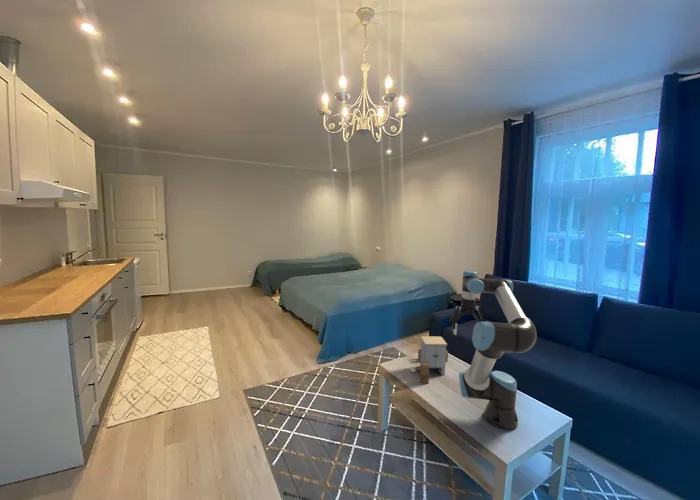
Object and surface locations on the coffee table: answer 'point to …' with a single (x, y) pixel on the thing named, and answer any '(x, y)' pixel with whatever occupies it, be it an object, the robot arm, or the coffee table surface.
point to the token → (413, 369)
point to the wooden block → (424, 372)
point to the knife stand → (420, 355)
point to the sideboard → (434, 352)
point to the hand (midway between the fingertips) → (466, 334)
